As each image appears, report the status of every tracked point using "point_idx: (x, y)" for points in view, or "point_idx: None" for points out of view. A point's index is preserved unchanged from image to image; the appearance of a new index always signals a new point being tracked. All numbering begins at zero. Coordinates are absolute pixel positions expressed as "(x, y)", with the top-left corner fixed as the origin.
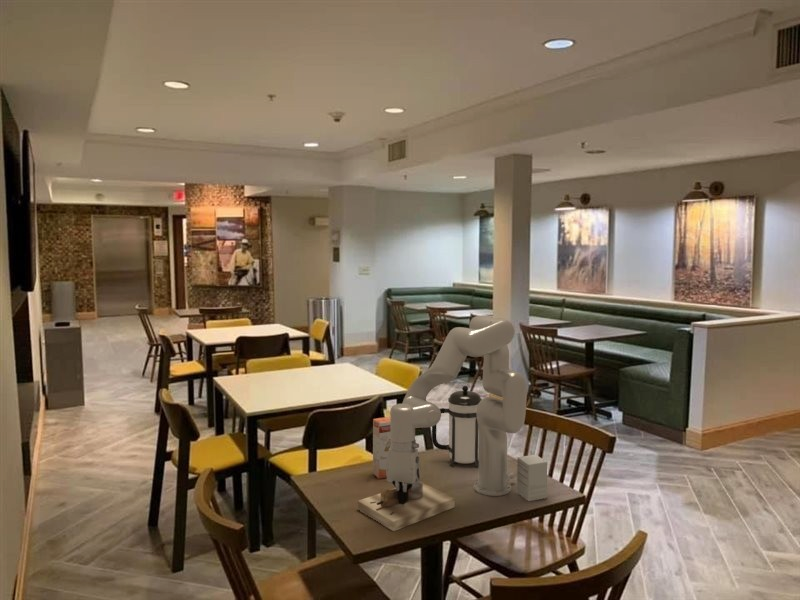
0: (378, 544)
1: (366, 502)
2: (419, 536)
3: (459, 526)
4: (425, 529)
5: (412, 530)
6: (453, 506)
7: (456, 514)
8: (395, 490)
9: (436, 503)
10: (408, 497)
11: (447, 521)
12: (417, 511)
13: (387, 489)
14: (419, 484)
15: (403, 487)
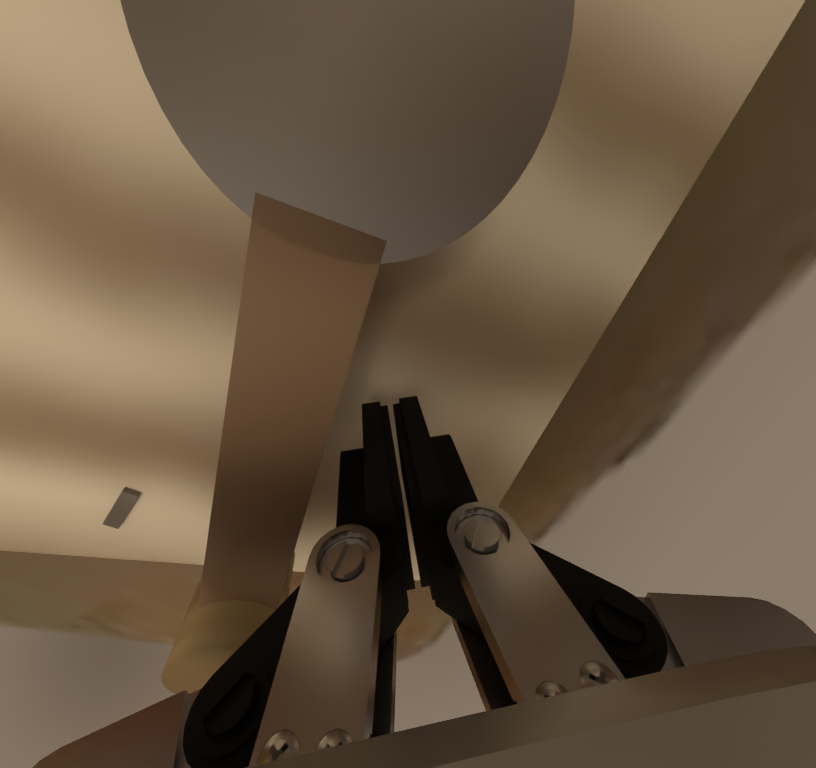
0: (438, 612)
1: (75, 531)
2: (572, 496)
3: (779, 292)
4: (582, 433)
5: (520, 476)
6: None
7: (774, 102)
8: (270, 526)
9: (672, 170)
10: (454, 445)
11: (700, 273)
12: (539, 421)
13: (221, 652)
14: (810, 634)
15: (475, 668)
